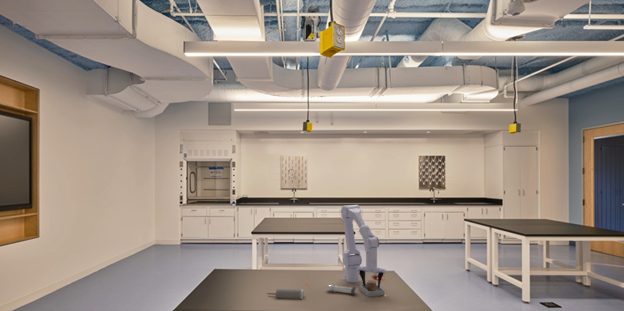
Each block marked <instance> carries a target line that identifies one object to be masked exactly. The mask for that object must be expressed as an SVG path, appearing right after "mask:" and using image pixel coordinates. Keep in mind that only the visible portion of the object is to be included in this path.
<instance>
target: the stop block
mask: <svg viewBox="0 0 624 311" xmlns="http://www.w3.org/2000/svg"><path fill="white" fill-rule="evenodd" d="M366 284H367V290H368V291H376V284H377V280H372V279H371V280H367V283H366Z"/></svg>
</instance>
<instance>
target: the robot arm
mask: <svg viewBox="0 0 624 311" xmlns="http://www.w3.org/2000/svg"><path fill="white" fill-rule="evenodd" d="M361 213H362V209H361V207H360V206H359V204H351V205H342V207H341V209H340V215H341V220H342V221H343V226H344V227H343V228H344V235H345V244H346V249H345V251H344V252H343V253H342V255H343V256H342V263H343V265H344V270H343V277H344V278H342V280H346V282H348V283H358V282H359V281H360V278H361V281H362V284H363V286H365V284H366V273H373V274H374V273H377V275H378V277H377V279H378V280H377V285H378V288H379V287H381V282H382V280H381V279H383V277H382V276H384V275H386V274H387V273H386V272H387V270H386V268H380V267H378V248H379V246H380V240H379V237H377V236H376V235H375V234H373V232H372V230H371V228H370V226H368V225H366V224H365V221H364V219H363V217H362V214H361ZM353 222H355V223H356V225H357V227H358V228H359V229H358V232H359V234H360V235H361V237H362V239H363V246H364V250H365V251H364V252H365V266H361V264H362V262H363V259H362V256H361V252H360V250H358V249H357V246H356V240H355V238H356V237H355V233H354V232H355V230H354V223H353ZM359 275H360V276H359Z"/></svg>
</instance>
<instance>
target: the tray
mask: <svg viewBox="0 0 624 311" xmlns="http://www.w3.org/2000/svg"><path fill="white" fill-rule="evenodd" d="M359 290H360V291H361V292H362V293H363V294H365V296H367V297H375V296H376V297H378V296H385V289H384V288H382V287H381V286H380V287H379V288H378V283H376V291H368V290H367V283H365V286H363V283H360V284H359Z"/></svg>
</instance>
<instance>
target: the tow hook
mask: <svg viewBox="0 0 624 311" xmlns="http://www.w3.org/2000/svg"><path fill="white" fill-rule="evenodd" d="M383 277H385V275H383V276H382V279H381V281H386V280H387V279H386V278H383ZM371 278H373V279H374V281H378V273H374V272H373V275H371Z"/></svg>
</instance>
